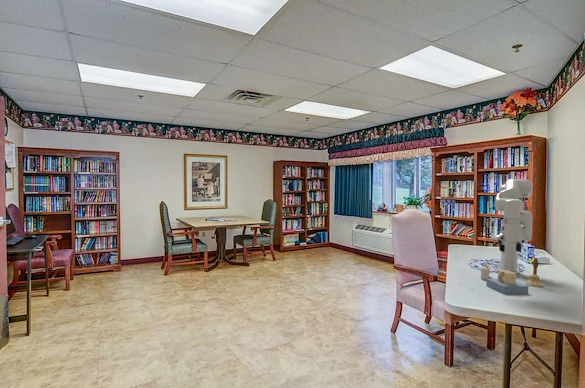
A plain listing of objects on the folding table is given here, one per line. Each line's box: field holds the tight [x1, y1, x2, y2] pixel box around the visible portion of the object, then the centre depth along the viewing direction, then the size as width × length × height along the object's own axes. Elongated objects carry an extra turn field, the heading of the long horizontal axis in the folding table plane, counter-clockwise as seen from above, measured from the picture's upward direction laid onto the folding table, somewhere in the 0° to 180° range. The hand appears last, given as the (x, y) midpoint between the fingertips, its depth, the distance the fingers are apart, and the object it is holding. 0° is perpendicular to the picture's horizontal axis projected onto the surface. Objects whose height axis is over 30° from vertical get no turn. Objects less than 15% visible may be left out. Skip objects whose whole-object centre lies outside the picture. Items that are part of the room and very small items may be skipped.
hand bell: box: [525, 257, 544, 288], centre depth 193 cm, size 8×8×16 cm
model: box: [480, 264, 490, 281], centre depth 206 cm, size 3×11×8 cm, turn 143°
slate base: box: [486, 278, 529, 294], centre depth 183 cm, size 14×14×4 cm
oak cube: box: [497, 269, 517, 284], centre depth 183 cm, size 6×6×6 cm
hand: (510, 251), depth 185 cm, fingers open, 9 cm apart
